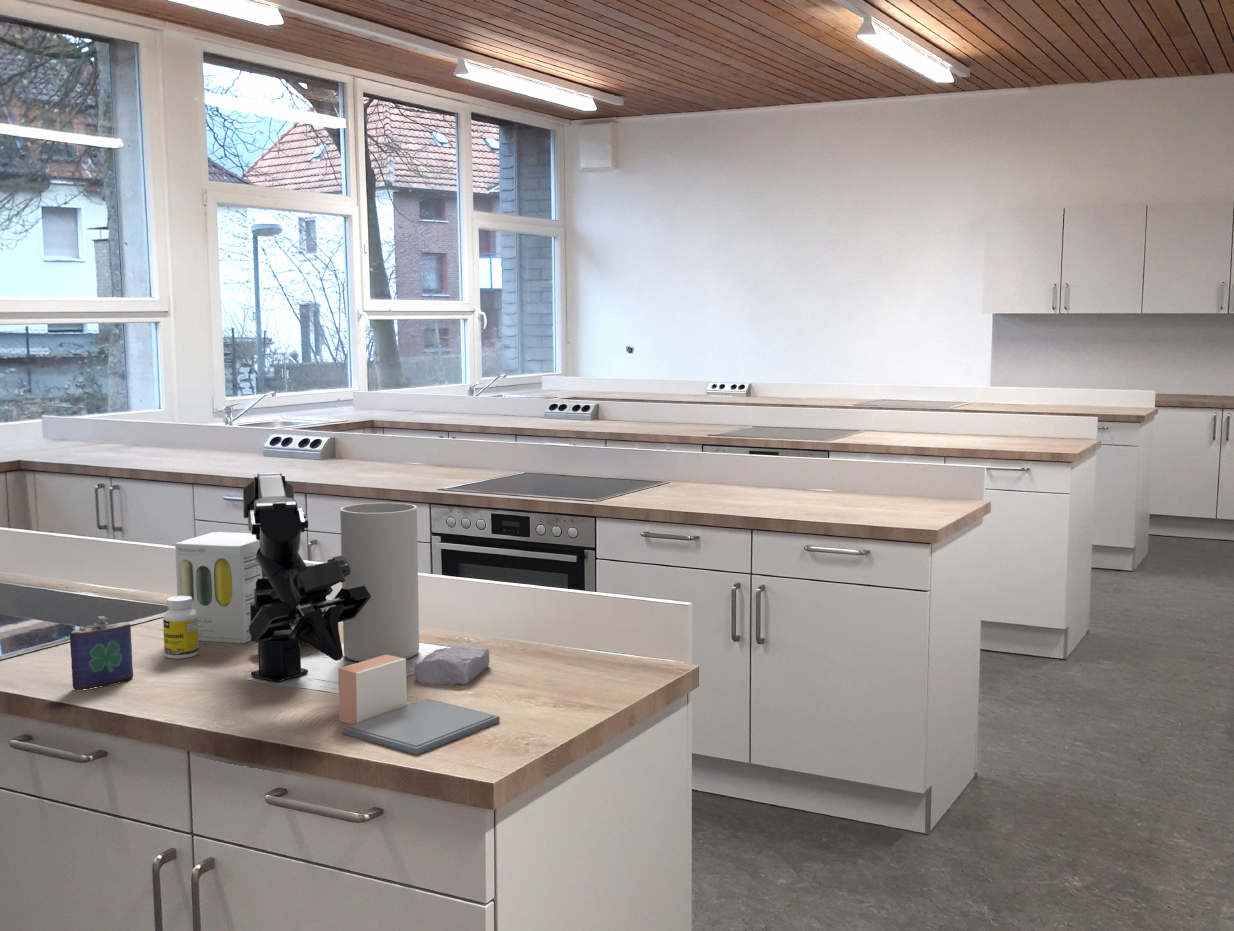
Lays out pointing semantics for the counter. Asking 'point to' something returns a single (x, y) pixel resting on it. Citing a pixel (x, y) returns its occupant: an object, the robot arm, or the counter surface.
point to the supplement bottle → (180, 628)
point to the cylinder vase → (382, 579)
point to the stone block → (452, 665)
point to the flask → (101, 654)
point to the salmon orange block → (372, 688)
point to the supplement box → (219, 583)
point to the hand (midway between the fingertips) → (339, 658)
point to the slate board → (421, 726)
